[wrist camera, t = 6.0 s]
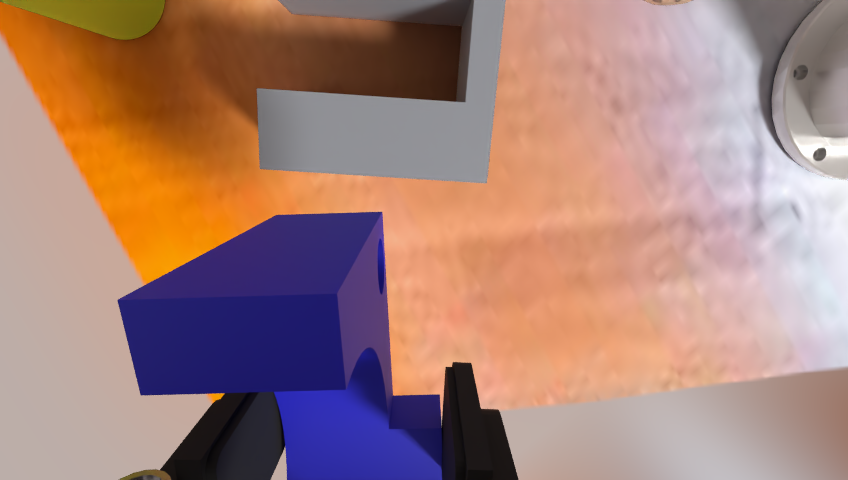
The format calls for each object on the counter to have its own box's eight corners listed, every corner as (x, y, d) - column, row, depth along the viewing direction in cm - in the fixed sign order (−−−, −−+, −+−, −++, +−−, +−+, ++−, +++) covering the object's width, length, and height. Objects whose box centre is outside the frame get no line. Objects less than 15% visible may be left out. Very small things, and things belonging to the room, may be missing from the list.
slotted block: (492, -46, 24) (516, -106, 18) (472, 173, 27) (486, 183, 21) (290, -61, 23) (248, -128, 18) (294, 162, 27) (259, 168, 21)
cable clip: (443, 538, 14) (456, 817, 8) (318, 541, 14) (245, 821, 8) (435, 210, 11) (447, 290, 5) (276, 215, 11) (116, 299, 5)
